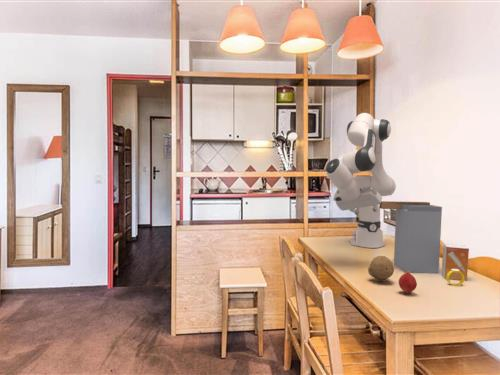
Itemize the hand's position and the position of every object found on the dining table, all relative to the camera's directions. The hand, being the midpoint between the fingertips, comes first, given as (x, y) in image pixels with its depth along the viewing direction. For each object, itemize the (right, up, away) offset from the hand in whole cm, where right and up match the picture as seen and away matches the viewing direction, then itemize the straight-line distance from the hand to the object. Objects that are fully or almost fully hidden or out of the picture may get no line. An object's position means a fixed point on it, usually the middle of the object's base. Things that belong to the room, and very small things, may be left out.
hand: (366, 212), depth 166 cm
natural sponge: (-2, -25, -24) cm, 35 cm away
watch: (+25, -26, -26) cm, 45 cm away
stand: (+19, -24, -5) cm, 32 cm away
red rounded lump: (+2, -26, -37) cm, 45 cm away
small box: (+30, -25, -17) cm, 43 cm away
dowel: (+15, +2, -4) cm, 16 cm away
